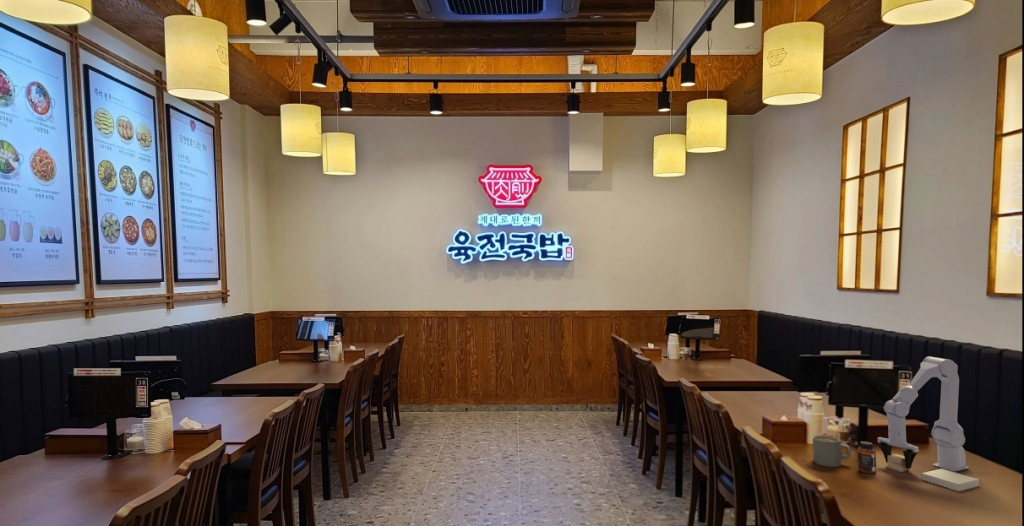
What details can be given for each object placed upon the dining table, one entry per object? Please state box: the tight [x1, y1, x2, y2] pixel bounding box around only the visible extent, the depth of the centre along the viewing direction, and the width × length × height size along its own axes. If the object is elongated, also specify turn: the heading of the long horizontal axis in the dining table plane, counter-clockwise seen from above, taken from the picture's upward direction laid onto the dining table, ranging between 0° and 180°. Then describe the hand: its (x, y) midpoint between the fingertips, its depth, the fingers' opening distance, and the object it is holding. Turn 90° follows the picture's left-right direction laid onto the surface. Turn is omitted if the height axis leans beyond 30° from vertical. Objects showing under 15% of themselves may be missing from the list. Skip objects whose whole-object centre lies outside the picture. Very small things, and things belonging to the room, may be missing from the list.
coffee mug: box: [812, 434, 852, 468], centre depth 218 cm, size 13×10×10 cm
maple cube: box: [887, 453, 910, 473], centre depth 211 cm, size 5×5×5 cm
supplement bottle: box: [857, 440, 877, 475], centre depth 209 cm, size 6×6×11 cm
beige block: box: [921, 468, 980, 492], centre depth 196 cm, size 12×12×3 cm
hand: (898, 465), depth 211 cm, fingers open, 7 cm apart
